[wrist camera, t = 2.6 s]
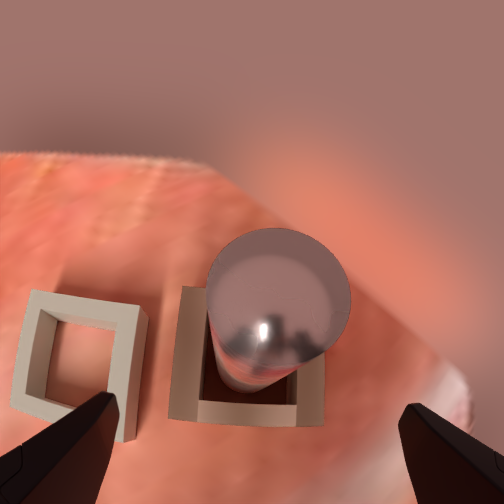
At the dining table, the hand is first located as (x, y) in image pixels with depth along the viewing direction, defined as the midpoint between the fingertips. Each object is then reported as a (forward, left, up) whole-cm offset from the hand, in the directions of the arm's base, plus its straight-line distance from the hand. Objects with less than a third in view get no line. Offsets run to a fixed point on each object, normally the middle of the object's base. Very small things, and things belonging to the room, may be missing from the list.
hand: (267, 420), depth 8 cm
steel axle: (+3, -2, -10) cm, 11 cm away
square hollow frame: (+8, +7, -10) cm, 15 cm away
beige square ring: (+3, -2, -10) cm, 11 cm away
